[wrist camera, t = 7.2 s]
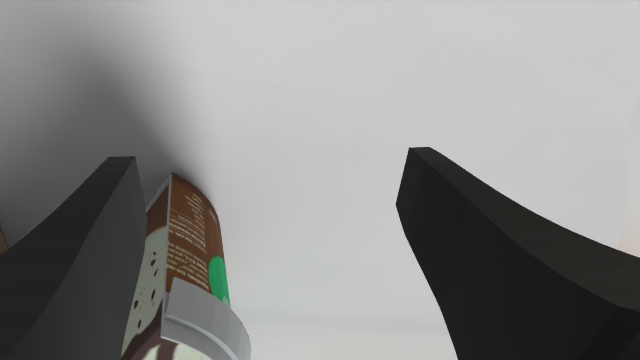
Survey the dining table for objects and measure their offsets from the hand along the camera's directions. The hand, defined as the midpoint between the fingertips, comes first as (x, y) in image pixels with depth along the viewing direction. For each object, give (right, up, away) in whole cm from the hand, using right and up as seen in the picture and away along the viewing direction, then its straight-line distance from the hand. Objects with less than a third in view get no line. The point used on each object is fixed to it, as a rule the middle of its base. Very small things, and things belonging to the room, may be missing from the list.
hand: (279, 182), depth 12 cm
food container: (-7, -4, +14) cm, 16 cm away
